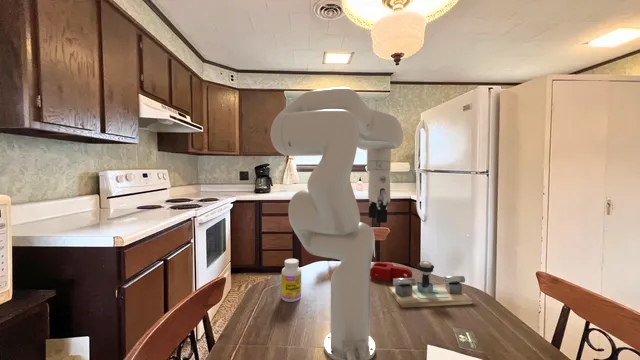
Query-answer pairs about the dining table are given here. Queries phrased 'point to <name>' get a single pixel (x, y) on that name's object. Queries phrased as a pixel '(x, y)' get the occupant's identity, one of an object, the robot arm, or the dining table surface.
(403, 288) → the cylinder and cube
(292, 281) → the supplement bottle
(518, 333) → the dining table surface
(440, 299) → the board
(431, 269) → the push button
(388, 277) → the mechanical linkage
